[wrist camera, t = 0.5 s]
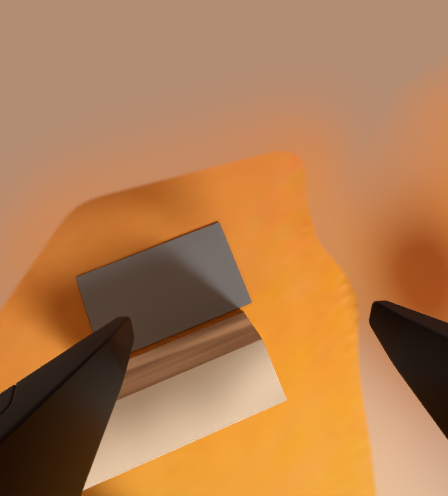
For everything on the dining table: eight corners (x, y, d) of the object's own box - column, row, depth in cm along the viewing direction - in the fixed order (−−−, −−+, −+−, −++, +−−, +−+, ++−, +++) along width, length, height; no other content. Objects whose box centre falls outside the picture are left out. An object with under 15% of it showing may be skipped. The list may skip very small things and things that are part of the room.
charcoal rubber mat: (251, 302, 21) (251, 302, 21) (104, 363, 21) (103, 363, 20) (219, 222, 22) (219, 222, 22) (76, 277, 22) (75, 277, 21)
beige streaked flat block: (256, 343, 21) (286, 400, 11) (128, 397, 20) (40, 509, 10) (243, 311, 21) (262, 338, 12) (117, 363, 21) (22, 440, 11)
